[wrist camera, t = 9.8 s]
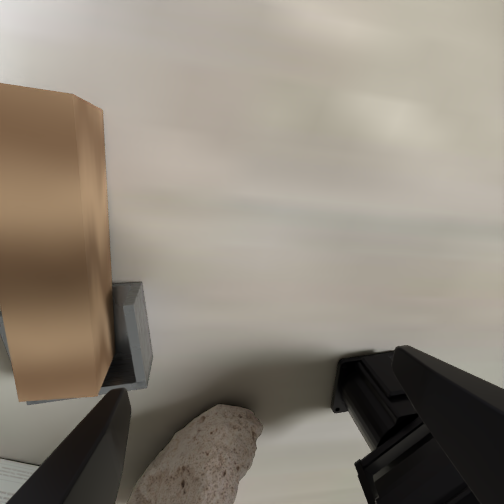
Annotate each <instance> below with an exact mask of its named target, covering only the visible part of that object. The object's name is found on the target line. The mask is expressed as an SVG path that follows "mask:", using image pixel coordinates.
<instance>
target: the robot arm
mask: <svg viewBox="0 0 504 504" xmlns="http://www.w3.org/2000/svg"><path fill="white" fill-rule="evenodd" d="M331 409H332V411H333V412H334V413H341V412H346V411H348V412H349V413H350V415H351V417H352V418H353V420H354V422H355V424H356V425H357V427H358V429H359V430H360V432H361V434H362V435H363V437H364V439H365V441H366V442H367V444H368V446H369V447H370V449H371V451H372V452H371V453H369V454H368V455H367V456H365V457H364V458H363V459H362V460H360V459H359V460H358V461H357V462H355V463H354V464H355V467H356V470H357V472H358V478H359V481H360V483H361V486H362V489H363V491H364V494H365V497H366V499H367V502H368V504H504V389H502V388H500V387H498V386H496V385H494V384H492V383H489V382H487V381H485V380H483V379H481V378H478V377H476V376H474V375H472V374H470V373H467V372H465V371H463V370H461V369H459V368H457V367H454V366H452V365H450V364H448V363H446V362H443V361H441V360H439V359H437V358H435V357H433V356H430V355H428V354H426V353H424V352H422V351H419V350H417V349H415V348H413V347H411V346H408V345H404V346H398V347H396V348H395V350H394V352H389V353H382V354H375V355H368V356H361V357H354V358H347V359H342V360H340V361H339V363H338V367H337V373H336V379H335V386H334V392H333V398H332V404H331ZM130 418H131V405H130V401H129V397H128V392H127V389H126V388H124V387H122V388H116V389H111V390H110V391H109V392H108V393H107V394H106V395H105V396H104V397H103V398H102V399H101V400H100V401H99V403H98V404H97V405H96V406H95V407H94V408H93V409H92V410H91V411H90V412H89V413H88V415H87V416H86V417H85V418H84V419H83V420H82V421H81V422H80V423H79V424H78V425H77V426H76V428H75V429H74V430H73V431H72V432H71V433H70V434H69V435H68V436H67V437H66V438H65V439H64V441H63V442H62V443H61V444H60V445H59V446H58V447H57V448H56V449H55V450H54V451H53V453H52V454H51V455H50V456H49V457H48V458H47V459H46V460H45V461H44V462H43V463H42V464H41V466H40V467H39V468H38V469H37V470H36V471H35V472H34V473H33V474H32V475H31V476H30V477H29V479H28V480H27V481H26V482H25V483H24V484H23V485H22V486H21V487H20V488H19V489H18V490H17V492H16V493H15V494H14V495H13V496H12V497H11V498H10V499H9V500H8V501H7V502H6V504H115V501H116V497H117V493H118V489H119V485H120V480H121V476H122V471H123V465H124V459H125V452H126V445H127V438H128V432H129V425H130Z"/></svg>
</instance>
